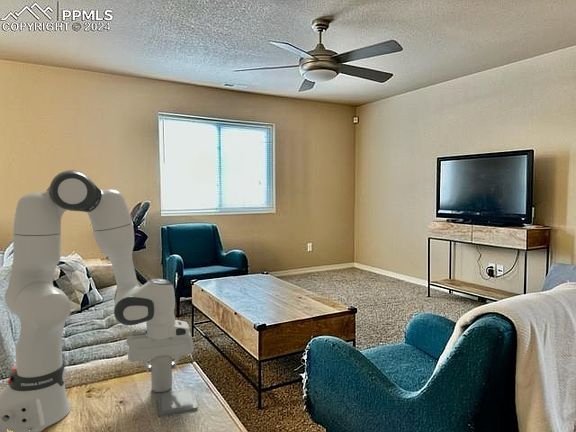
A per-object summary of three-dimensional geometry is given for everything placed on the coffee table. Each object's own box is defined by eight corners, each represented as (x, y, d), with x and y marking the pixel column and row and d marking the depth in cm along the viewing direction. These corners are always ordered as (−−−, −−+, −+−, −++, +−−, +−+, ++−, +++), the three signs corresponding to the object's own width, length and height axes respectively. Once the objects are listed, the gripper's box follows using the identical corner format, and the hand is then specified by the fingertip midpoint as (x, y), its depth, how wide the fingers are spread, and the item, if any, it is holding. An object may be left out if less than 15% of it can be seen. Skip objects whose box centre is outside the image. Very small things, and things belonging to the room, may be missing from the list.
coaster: (158, 416, 113) (158, 413, 113) (157, 396, 124) (157, 393, 124) (197, 409, 117) (197, 406, 117) (193, 390, 127) (193, 387, 127)
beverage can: (168, 394, 125) (168, 358, 124) (148, 393, 125) (147, 357, 124) (174, 383, 131) (174, 349, 130) (155, 382, 132) (155, 348, 130)
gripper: (125, 336, 120) (126, 379, 121) (194, 328, 127) (194, 369, 128) (126, 328, 126) (127, 370, 127) (191, 321, 133) (192, 360, 134)
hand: (161, 369), depth 128 cm, fingers closed on beverage can, 6 cm apart
